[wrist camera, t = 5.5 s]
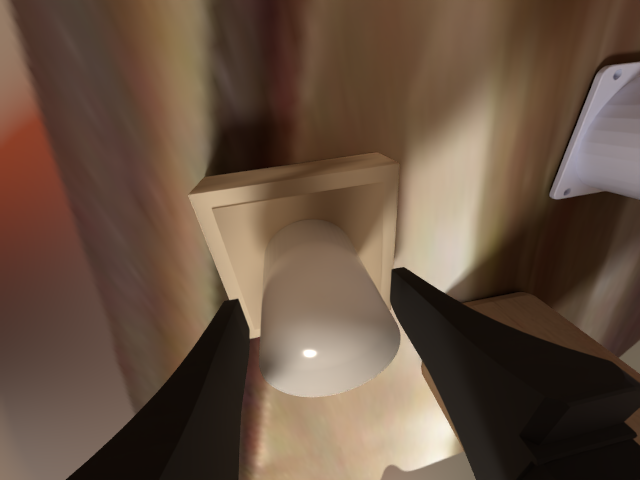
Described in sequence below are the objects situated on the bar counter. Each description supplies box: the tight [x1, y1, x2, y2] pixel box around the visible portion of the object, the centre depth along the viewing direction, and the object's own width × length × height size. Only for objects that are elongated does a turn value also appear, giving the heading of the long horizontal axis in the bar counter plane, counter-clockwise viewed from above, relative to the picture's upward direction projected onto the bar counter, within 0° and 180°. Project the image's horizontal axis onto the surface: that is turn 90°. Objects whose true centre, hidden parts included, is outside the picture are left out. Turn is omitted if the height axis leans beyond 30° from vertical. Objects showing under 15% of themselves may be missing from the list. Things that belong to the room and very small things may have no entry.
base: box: [188, 152, 400, 338], centre depth 15 cm, size 10×10×3 cm
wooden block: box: [421, 292, 640, 452], centre depth 16 cm, size 10×10×20 cm
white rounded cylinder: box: [259, 219, 400, 397], centre depth 11 cm, size 5×5×6 cm
